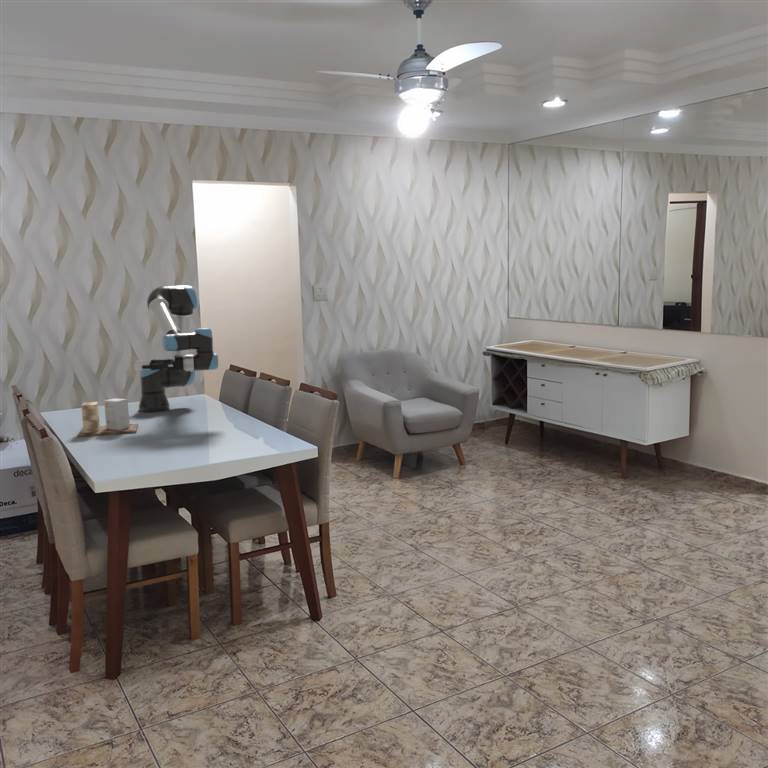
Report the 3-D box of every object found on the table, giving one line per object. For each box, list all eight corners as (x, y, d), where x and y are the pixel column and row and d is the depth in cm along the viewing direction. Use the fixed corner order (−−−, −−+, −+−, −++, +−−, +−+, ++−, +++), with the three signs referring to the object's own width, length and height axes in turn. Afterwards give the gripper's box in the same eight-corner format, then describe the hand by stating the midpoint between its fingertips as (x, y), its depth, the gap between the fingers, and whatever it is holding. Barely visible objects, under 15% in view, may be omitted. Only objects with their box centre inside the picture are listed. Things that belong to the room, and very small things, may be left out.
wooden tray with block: (138, 425, 344) (136, 397, 342) (136, 433, 329) (134, 403, 327) (82, 429, 338) (79, 401, 336) (77, 437, 323) (75, 407, 321)
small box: (130, 427, 335) (128, 399, 333) (119, 430, 330) (117, 401, 328) (116, 426, 339) (114, 398, 337) (106, 429, 333) (103, 400, 331)
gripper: (184, 374, 333) (134, 377, 328) (184, 367, 357) (137, 370, 352) (183, 357, 332) (133, 360, 327) (183, 352, 356) (136, 354, 350)
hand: (135, 365), depth 339 cm, fingers open, 13 cm apart
